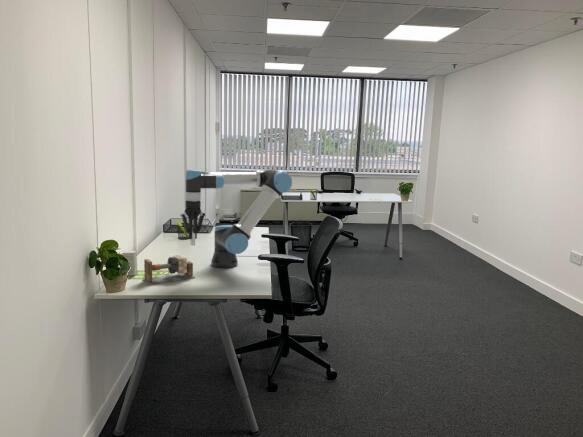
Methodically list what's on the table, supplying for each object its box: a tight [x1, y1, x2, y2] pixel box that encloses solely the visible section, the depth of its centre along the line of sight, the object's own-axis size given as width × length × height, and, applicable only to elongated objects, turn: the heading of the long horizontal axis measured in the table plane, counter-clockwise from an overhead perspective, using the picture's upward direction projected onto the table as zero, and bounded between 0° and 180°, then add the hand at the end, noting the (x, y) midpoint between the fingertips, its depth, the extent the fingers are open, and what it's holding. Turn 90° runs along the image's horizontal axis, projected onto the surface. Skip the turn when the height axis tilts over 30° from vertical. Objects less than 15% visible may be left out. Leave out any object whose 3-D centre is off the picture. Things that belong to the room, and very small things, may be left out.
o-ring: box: [166, 256, 177, 275], centre depth 220 cm, size 2×8×8 cm, turn 36°
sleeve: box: [172, 254, 188, 274], centre depth 223 cm, size 4×8×8 cm, turn 36°
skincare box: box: [121, 250, 138, 276], centre depth 225 cm, size 6×4×12 cm
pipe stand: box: [142, 258, 196, 286], centre depth 220 cm, size 24×9×11 cm, turn 125°
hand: (192, 245), depth 225 cm, fingers closed
